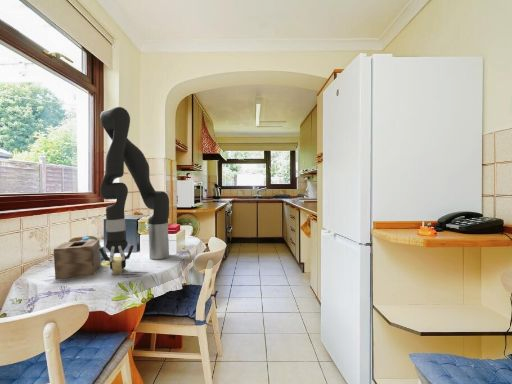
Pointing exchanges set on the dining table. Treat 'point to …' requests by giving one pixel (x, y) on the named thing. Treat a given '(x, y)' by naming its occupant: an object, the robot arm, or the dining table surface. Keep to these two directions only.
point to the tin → (83, 237)
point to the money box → (77, 258)
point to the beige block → (117, 265)
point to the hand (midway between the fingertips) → (118, 269)
